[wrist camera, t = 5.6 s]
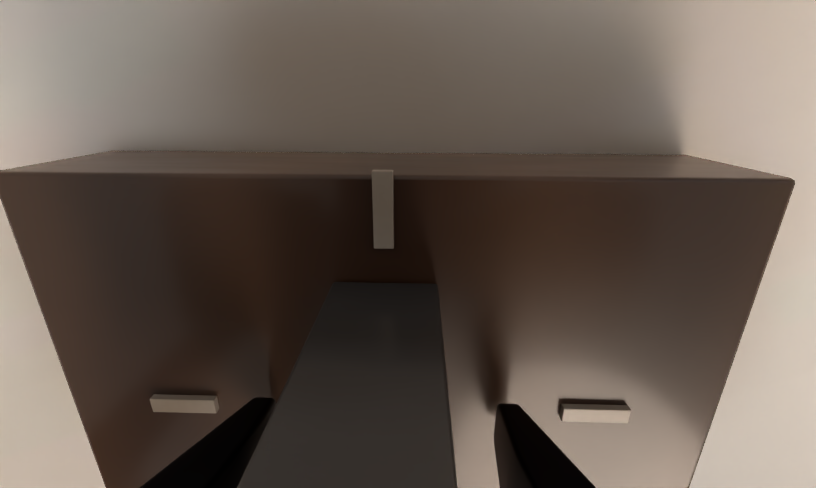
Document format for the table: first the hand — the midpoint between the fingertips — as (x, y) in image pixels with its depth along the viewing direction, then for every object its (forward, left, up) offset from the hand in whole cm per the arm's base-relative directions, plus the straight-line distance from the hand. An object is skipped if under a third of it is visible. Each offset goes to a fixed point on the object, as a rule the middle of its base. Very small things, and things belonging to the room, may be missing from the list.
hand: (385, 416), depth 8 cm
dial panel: (0, 0, -3) cm, 3 cm away
